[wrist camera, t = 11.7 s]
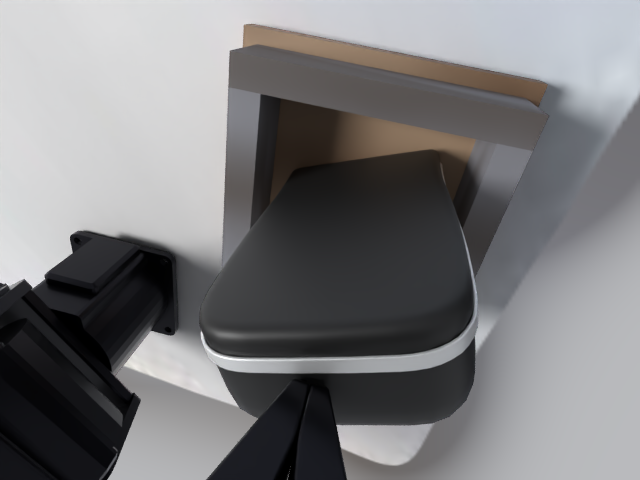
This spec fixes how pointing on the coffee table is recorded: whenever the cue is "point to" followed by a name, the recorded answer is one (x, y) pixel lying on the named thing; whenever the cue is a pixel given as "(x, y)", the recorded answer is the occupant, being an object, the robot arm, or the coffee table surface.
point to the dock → (372, 124)
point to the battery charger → (351, 295)
